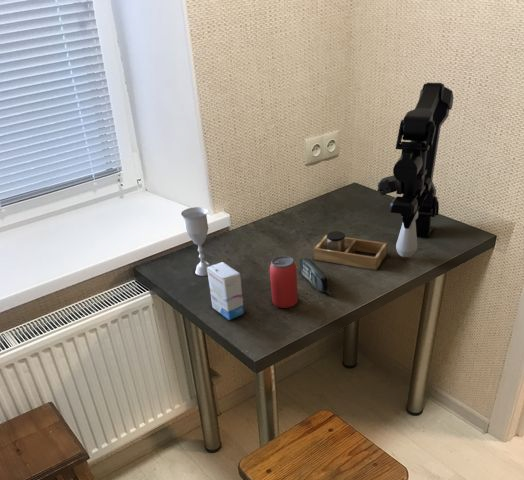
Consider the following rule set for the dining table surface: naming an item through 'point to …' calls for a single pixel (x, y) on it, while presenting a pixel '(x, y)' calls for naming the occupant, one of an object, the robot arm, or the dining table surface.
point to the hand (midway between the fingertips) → (408, 225)
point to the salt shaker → (407, 240)
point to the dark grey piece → (314, 275)
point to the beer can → (283, 282)
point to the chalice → (197, 233)
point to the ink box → (225, 290)
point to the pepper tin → (336, 241)
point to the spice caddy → (352, 253)
